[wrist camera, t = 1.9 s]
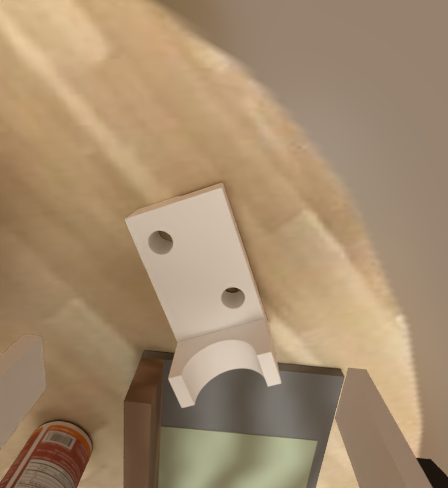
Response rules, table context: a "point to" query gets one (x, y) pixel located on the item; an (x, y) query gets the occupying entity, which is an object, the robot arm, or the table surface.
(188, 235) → the bracket
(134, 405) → the tray
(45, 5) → the table surface
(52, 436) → the pill bottle
